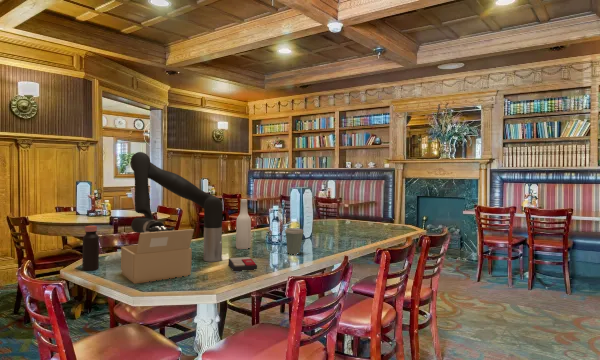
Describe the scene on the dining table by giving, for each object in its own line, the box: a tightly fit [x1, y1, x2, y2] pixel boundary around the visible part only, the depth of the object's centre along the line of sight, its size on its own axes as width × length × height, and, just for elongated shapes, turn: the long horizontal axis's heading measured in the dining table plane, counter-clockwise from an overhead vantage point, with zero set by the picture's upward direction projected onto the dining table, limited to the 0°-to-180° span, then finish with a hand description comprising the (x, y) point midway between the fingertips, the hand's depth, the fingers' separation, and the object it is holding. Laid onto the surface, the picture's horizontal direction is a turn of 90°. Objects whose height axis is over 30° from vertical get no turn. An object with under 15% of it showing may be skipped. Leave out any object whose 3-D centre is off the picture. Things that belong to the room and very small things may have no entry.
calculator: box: [228, 256, 258, 272], centre depth 196 cm, size 11×4×15 cm
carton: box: [120, 244, 193, 285], centre depth 180 cm, size 25×20×12 cm
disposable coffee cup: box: [284, 227, 304, 255], centre depth 231 cm, size 11×11×15 cm
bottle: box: [81, 225, 100, 272], centre depth 188 cm, size 7×7×20 cm
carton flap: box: [136, 228, 195, 253], centre depth 170 cm, size 22×10×1 cm
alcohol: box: [235, 198, 252, 250], centre depth 246 cm, size 9×9×30 cm
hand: (166, 233), depth 169 cm, fingers closed
